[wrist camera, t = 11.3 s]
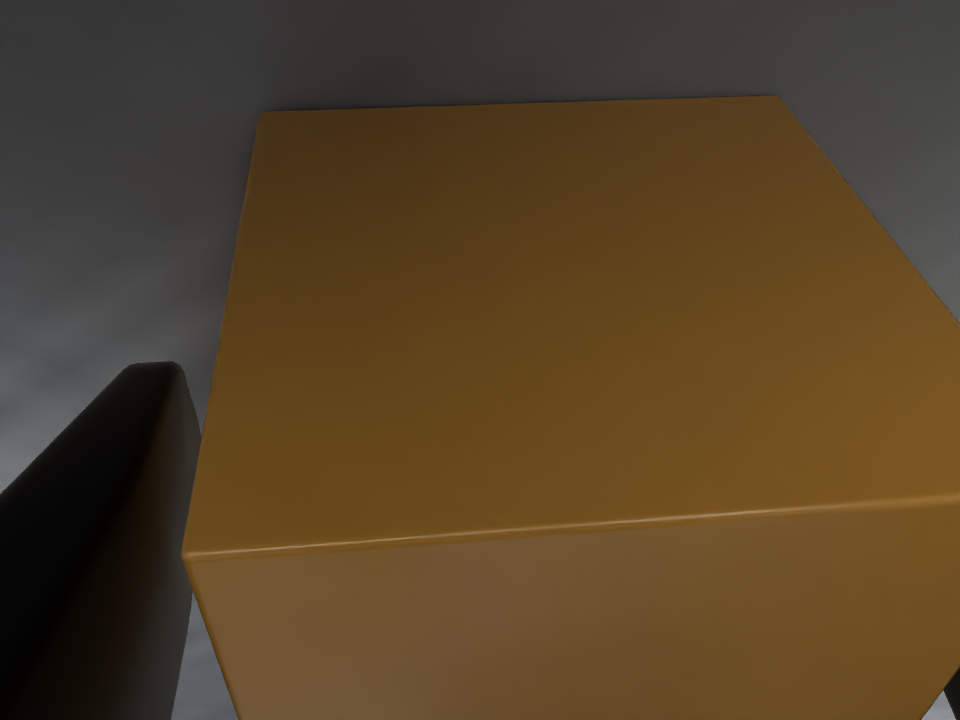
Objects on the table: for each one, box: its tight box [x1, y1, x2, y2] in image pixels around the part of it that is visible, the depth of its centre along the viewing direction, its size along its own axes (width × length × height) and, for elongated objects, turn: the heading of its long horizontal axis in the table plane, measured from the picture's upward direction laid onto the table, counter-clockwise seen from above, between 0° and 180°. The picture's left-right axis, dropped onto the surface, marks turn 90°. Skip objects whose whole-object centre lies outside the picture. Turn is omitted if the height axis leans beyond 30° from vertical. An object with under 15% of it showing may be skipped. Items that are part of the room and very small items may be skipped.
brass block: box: [181, 95, 960, 720], centre depth 7 cm, size 4×4×4 cm
